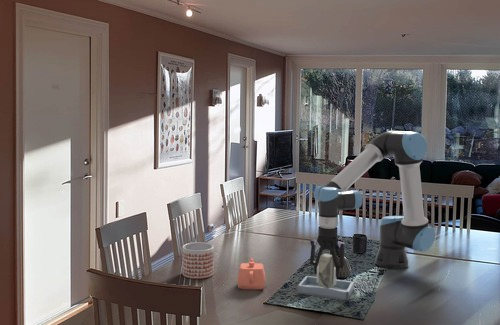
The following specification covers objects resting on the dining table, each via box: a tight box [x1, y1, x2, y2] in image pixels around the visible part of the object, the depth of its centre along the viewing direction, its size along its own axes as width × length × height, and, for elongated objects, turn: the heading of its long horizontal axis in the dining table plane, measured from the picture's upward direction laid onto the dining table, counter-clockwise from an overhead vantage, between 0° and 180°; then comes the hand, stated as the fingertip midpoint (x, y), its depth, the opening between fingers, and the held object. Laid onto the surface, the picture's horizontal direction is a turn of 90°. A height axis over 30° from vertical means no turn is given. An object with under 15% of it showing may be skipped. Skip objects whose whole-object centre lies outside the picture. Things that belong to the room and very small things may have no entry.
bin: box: [297, 275, 355, 301], centre depth 205 cm, size 13×20×3 cm, turn 69°
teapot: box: [237, 257, 266, 291], centre depth 210 cm, size 12×18×10 cm, turn 178°
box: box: [318, 253, 335, 289], centre depth 204 cm, size 5×4×13 cm
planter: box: [181, 241, 215, 280], centre depth 224 cm, size 14×14×13 cm
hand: (326, 282), depth 205 cm, fingers closed on box, 6 cm apart
